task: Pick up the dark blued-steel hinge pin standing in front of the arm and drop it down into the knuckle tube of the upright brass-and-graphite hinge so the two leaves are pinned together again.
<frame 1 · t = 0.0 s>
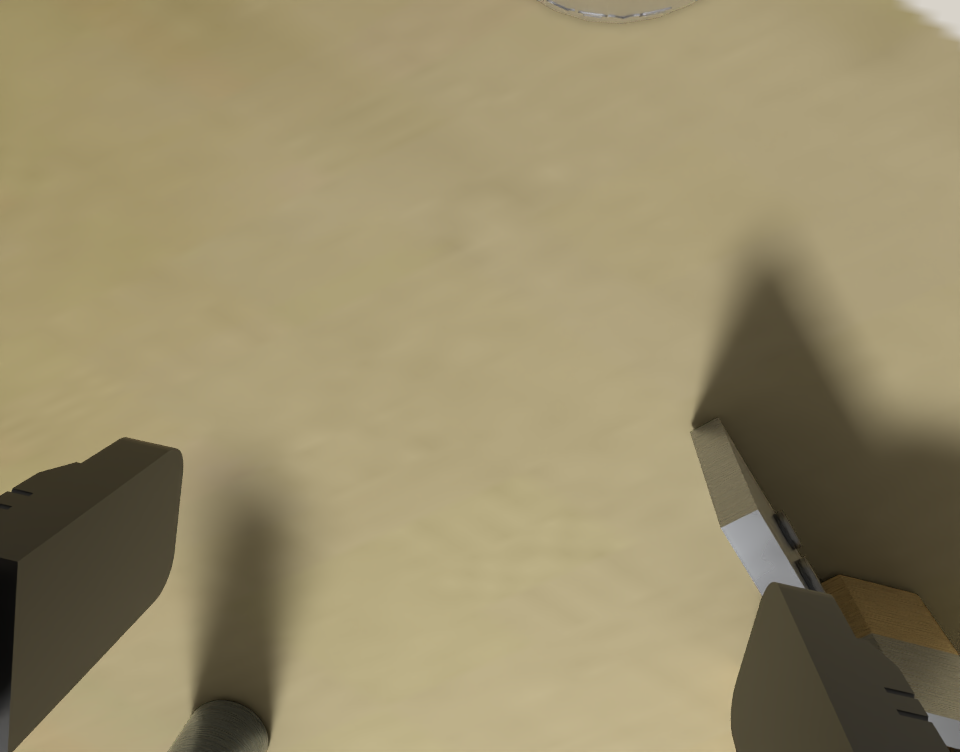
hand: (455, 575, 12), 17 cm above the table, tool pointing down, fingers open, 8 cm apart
pin: (228, 736, 34), on the table
hinge: (846, 662, 30), on the table
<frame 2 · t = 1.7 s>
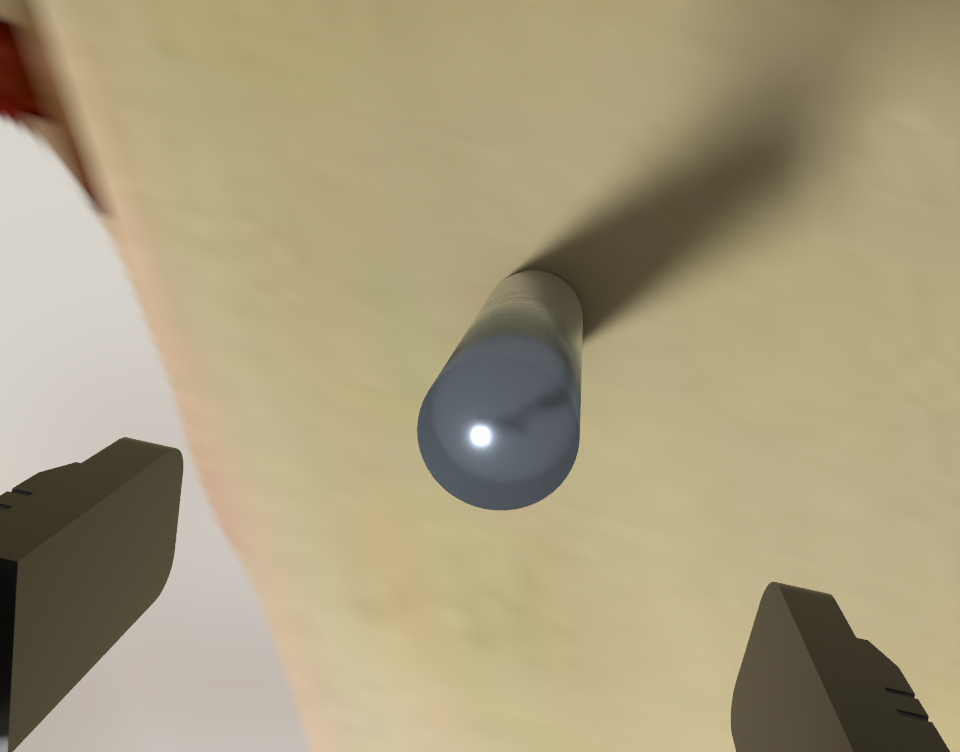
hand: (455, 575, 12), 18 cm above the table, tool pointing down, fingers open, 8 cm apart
pin: (533, 319, 29), on the table
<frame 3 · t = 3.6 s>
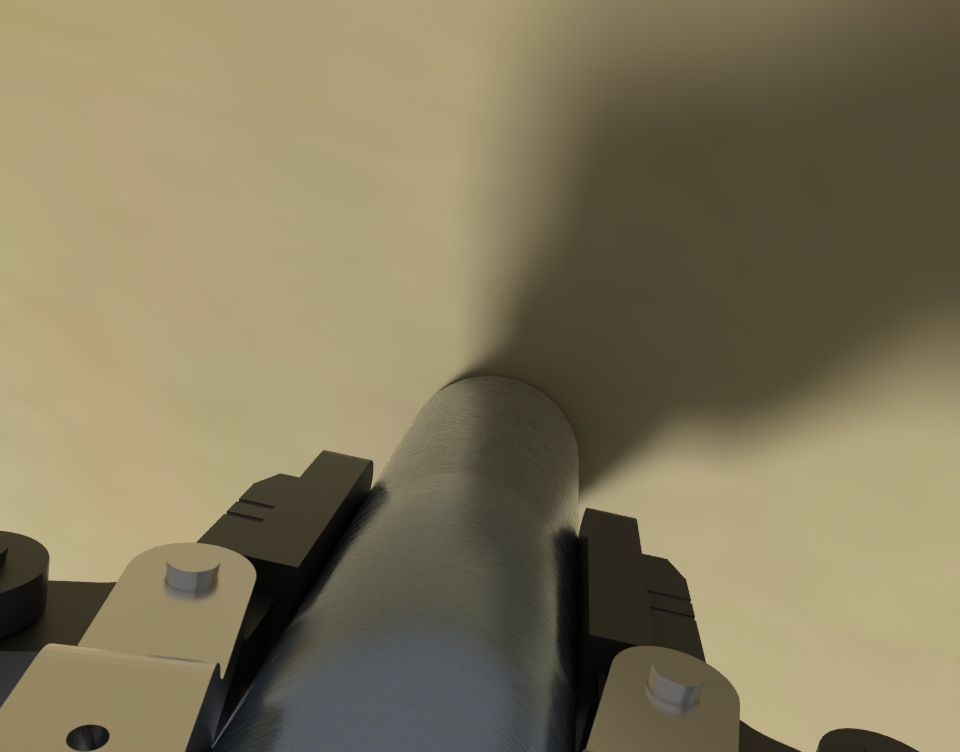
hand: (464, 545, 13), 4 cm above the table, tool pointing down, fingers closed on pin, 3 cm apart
pin: (491, 459, 16), on the table, touching gripper
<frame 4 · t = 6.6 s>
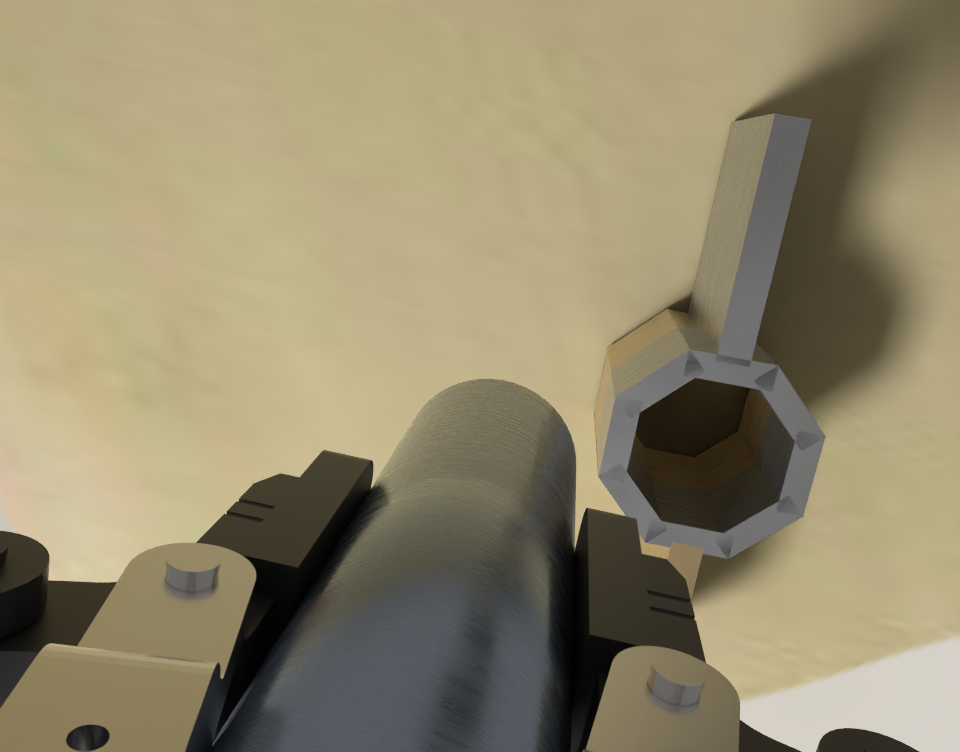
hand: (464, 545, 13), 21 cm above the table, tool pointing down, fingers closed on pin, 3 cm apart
pin: (489, 462, 16), point 17 cm above the table, touching gripper
hinge: (682, 395, 33), on the table
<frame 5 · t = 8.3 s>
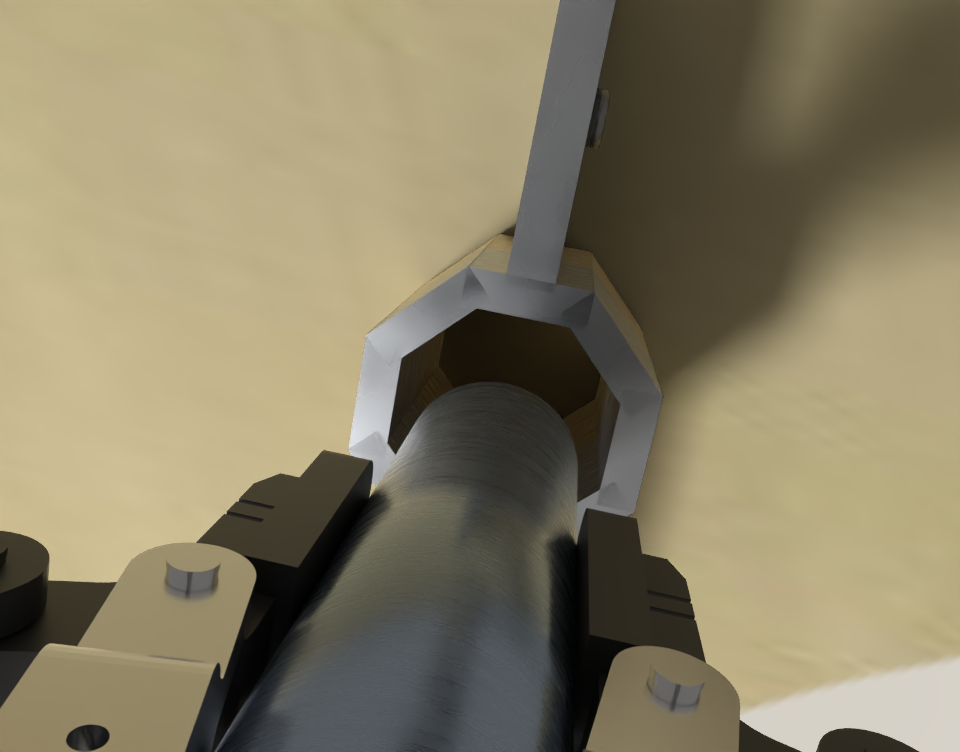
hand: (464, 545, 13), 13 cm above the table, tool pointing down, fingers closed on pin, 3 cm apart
pin: (490, 465, 16), point 9 cm above the table, touching gripper
hinge: (523, 350, 25), on the table
when the fingers open (8 cm above the table, at t = 9.5 s): pin drops 4 cm, resting in hinge.
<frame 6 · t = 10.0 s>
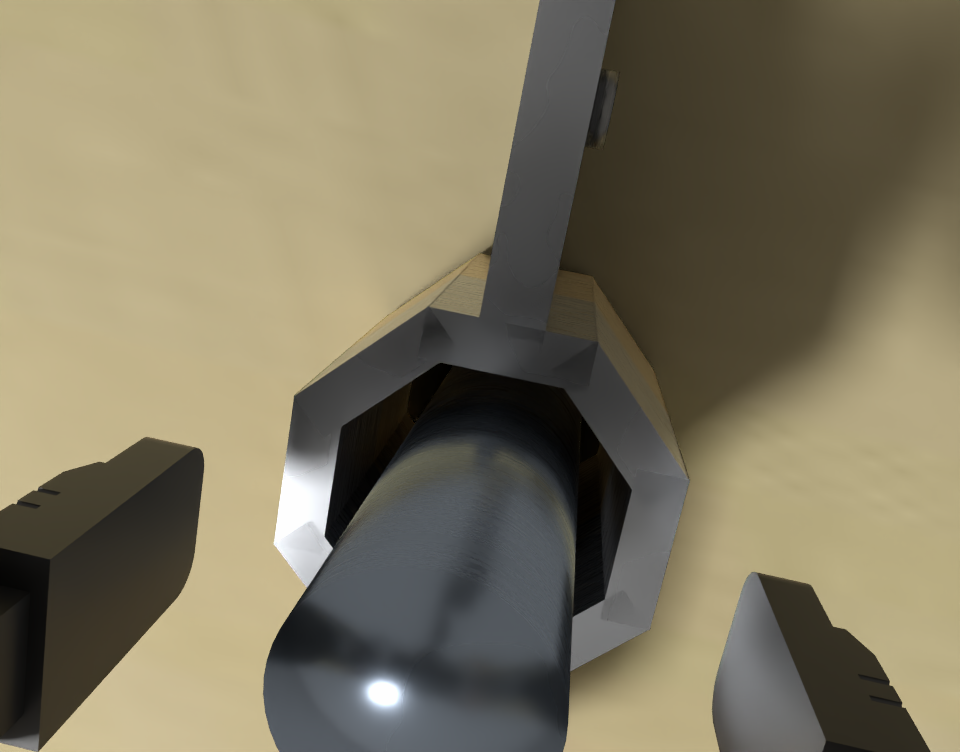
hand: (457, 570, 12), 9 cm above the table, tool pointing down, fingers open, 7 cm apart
pin: (513, 399, 21), resting in hinge
hinge: (509, 395, 21), on the table
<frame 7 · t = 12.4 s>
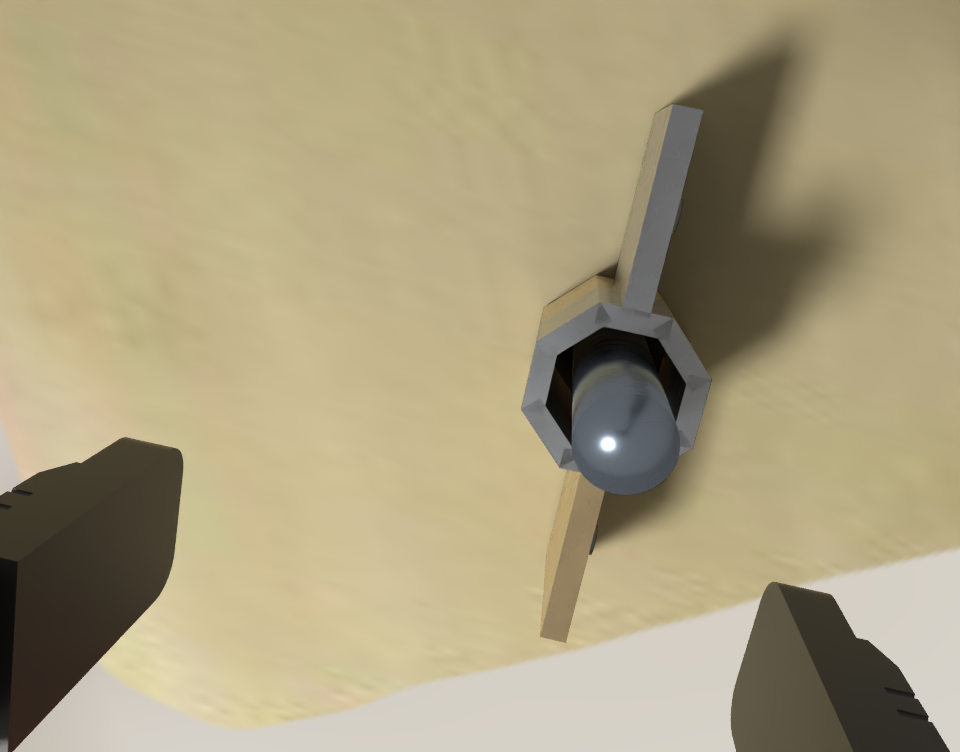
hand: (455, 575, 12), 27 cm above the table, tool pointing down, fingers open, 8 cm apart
pin: (610, 354, 38), resting in hinge
hinge: (608, 352, 38), on the table
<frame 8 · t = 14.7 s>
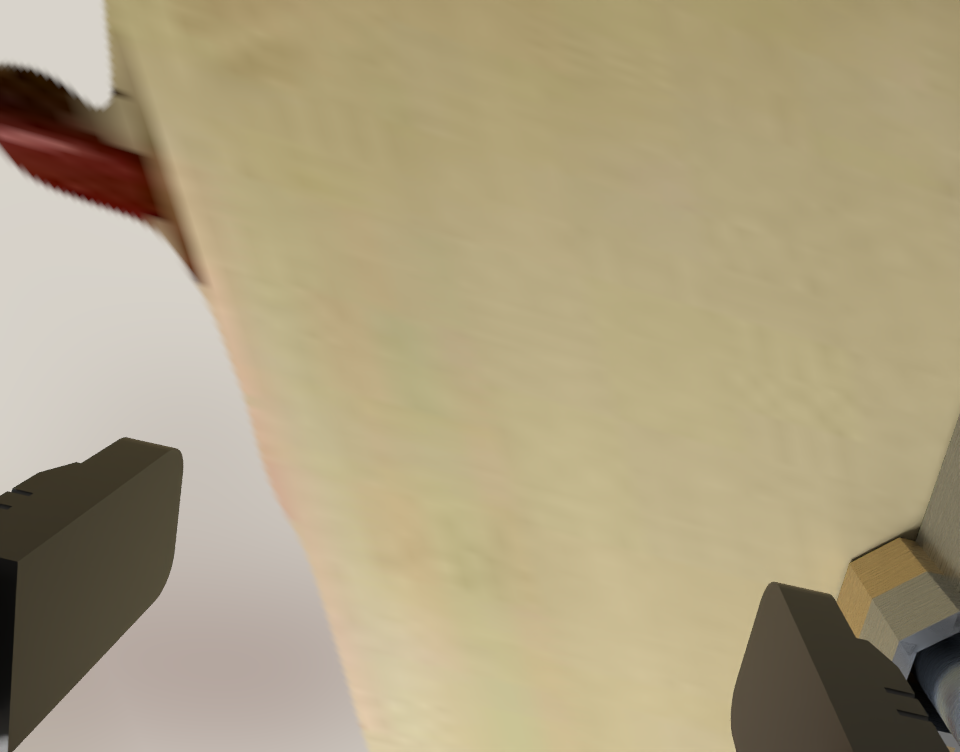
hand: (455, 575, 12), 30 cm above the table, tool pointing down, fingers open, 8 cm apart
pin: (907, 603, 43), resting in hinge
hinge: (905, 601, 43), on the table
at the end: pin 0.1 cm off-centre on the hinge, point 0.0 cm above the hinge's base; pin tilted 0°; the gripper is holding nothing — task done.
